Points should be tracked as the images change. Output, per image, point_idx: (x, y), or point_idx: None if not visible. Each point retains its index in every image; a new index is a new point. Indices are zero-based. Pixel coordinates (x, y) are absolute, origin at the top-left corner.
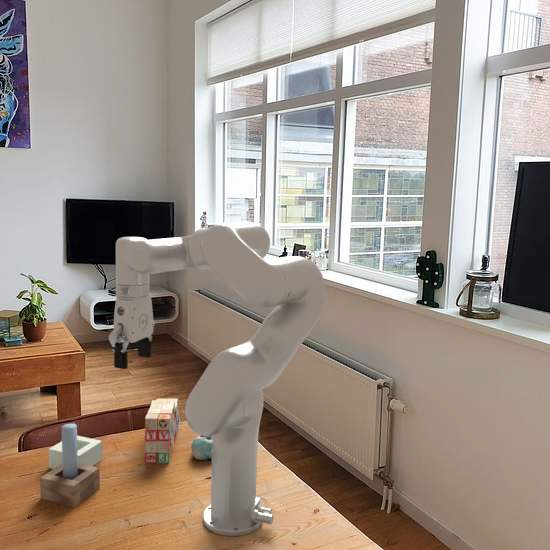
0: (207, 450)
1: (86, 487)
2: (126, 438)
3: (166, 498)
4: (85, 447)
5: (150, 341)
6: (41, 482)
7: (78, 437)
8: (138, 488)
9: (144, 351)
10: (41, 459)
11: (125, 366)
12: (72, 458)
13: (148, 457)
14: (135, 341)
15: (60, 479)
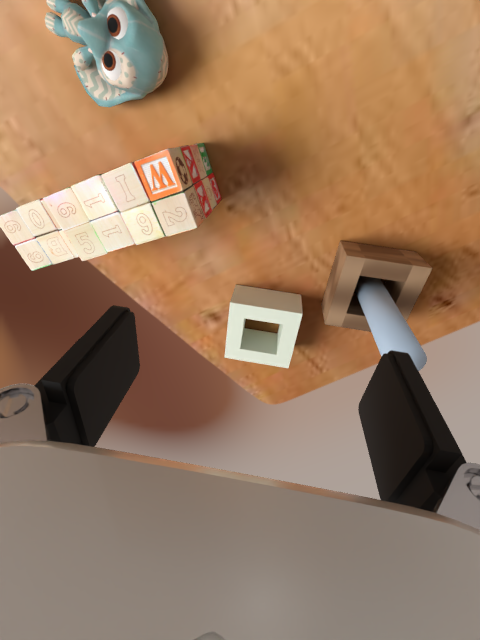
0: (149, 20)
1: (385, 253)
2: (144, 280)
3: (366, 63)
4: (266, 318)
5: (46, 381)
6: None
7: (231, 345)
8: (329, 161)
9: (120, 359)
10: (264, 366)
11: (408, 365)
12: (396, 307)
13: (217, 194)
14: (420, 512)
15: (404, 302)
